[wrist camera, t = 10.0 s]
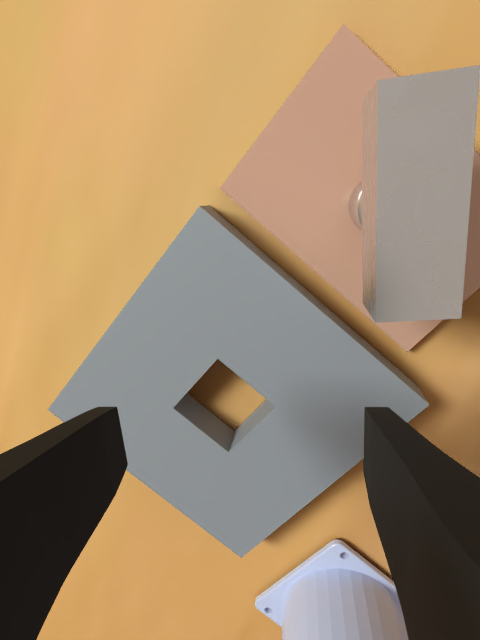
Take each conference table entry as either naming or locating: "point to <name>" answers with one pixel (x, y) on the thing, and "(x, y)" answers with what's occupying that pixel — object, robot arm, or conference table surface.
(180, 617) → the conference table surface
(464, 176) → the t key
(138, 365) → the cover plate
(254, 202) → the tile
